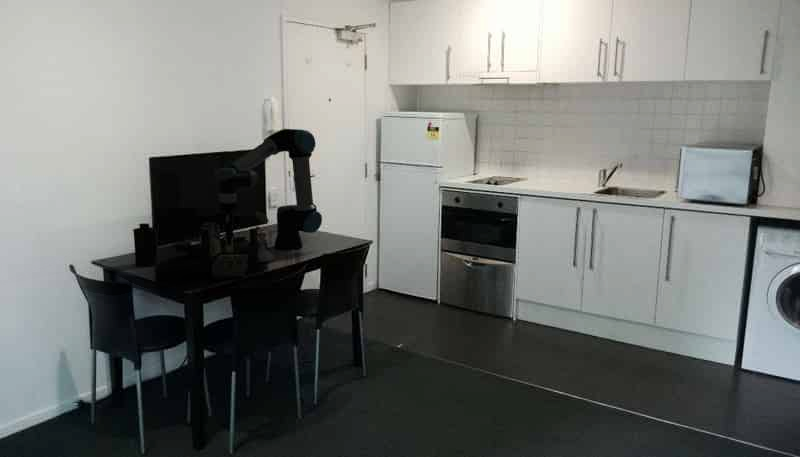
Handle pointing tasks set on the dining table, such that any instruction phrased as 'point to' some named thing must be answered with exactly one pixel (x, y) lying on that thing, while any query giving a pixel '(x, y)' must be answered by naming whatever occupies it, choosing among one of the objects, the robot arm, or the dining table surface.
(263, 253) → the flower in vase
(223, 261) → the breaker panel
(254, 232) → the post
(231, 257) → the breaker paddle
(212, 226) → the coffee box
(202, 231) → the post
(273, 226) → the dining table surface
